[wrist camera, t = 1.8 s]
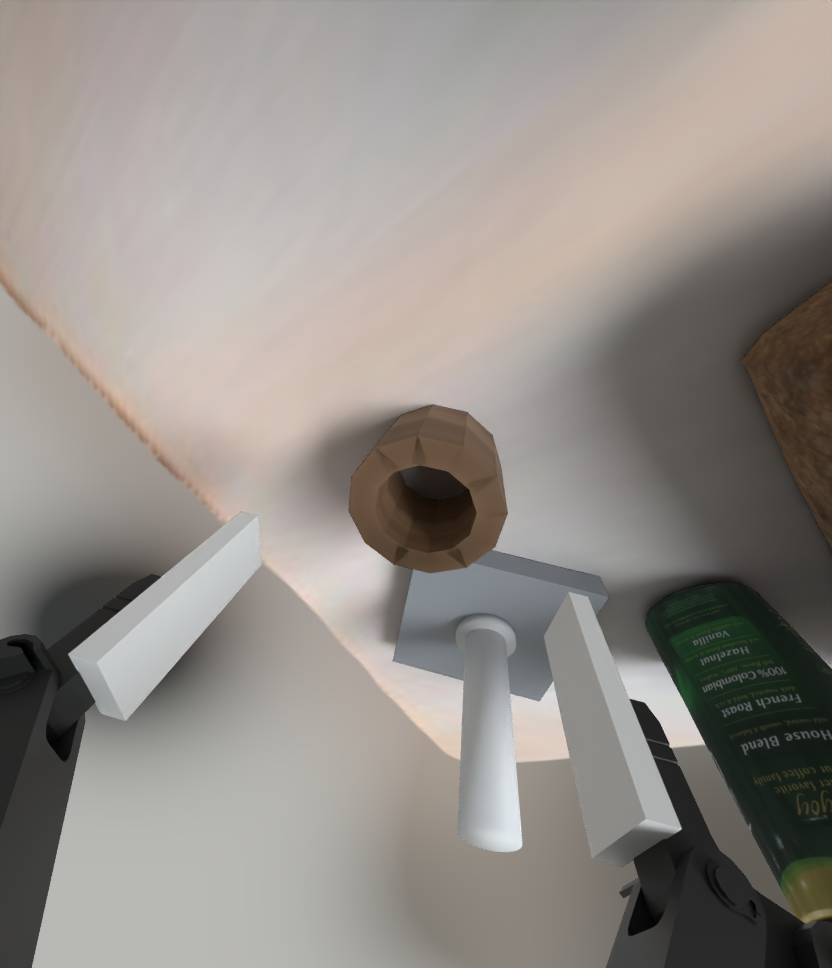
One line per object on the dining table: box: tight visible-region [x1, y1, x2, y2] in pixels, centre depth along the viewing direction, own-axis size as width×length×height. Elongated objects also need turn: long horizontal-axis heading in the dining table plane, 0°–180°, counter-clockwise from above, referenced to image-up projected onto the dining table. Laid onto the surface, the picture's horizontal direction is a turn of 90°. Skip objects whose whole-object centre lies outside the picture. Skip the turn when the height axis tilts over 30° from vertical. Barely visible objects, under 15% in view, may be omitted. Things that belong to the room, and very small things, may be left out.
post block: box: [393, 550, 609, 852], centre depth 22 cm, size 14×14×14 cm
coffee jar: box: [645, 583, 832, 924], centre depth 17 cm, size 10×8×19 cm
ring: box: [349, 405, 508, 573], centre depth 20 cm, size 8×8×6 cm
